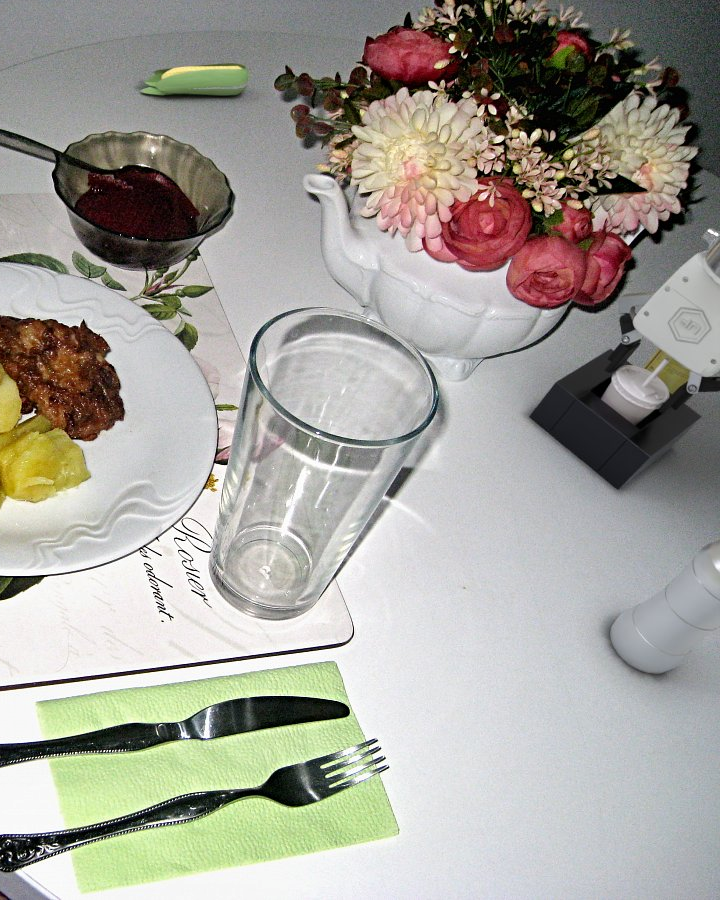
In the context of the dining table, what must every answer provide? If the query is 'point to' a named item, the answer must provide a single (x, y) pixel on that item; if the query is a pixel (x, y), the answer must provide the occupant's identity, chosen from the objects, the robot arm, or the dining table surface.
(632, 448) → the dark storage bin
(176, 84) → the edible corn
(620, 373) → the smoothie
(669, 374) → the sauce bottle
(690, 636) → the plastic bottle
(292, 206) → the dining table surface
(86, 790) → the dining table surface
